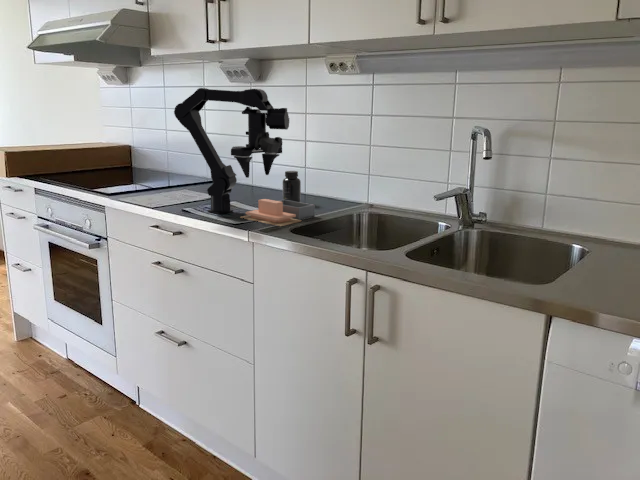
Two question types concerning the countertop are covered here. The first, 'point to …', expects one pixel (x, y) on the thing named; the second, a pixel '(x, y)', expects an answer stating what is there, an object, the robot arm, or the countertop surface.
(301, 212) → the storage box
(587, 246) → the countertop surface
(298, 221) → the light wood flat board
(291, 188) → the supplement bottle
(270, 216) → the lid
